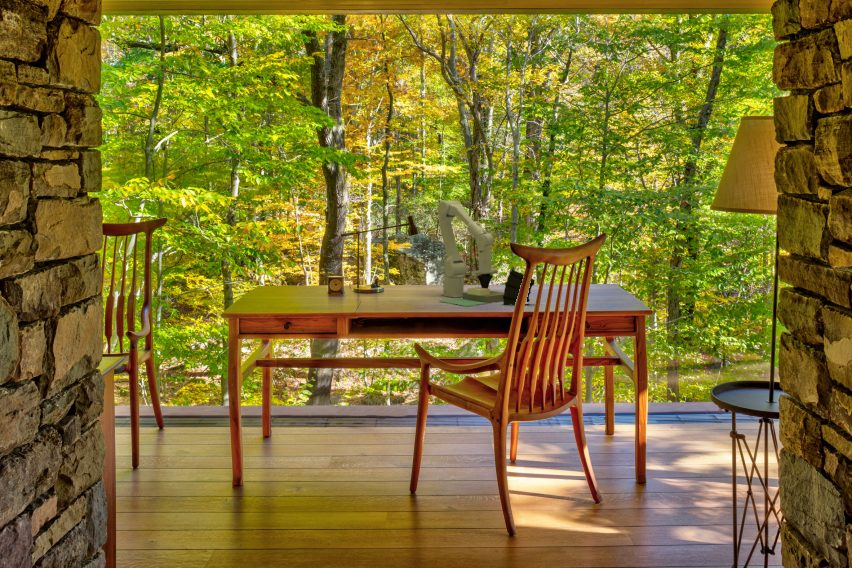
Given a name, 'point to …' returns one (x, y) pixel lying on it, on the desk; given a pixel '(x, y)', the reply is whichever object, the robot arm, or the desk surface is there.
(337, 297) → the desk surface
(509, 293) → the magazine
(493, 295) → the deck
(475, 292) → the tile
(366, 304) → the desk surface
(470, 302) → the mat
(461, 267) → the robot arm
